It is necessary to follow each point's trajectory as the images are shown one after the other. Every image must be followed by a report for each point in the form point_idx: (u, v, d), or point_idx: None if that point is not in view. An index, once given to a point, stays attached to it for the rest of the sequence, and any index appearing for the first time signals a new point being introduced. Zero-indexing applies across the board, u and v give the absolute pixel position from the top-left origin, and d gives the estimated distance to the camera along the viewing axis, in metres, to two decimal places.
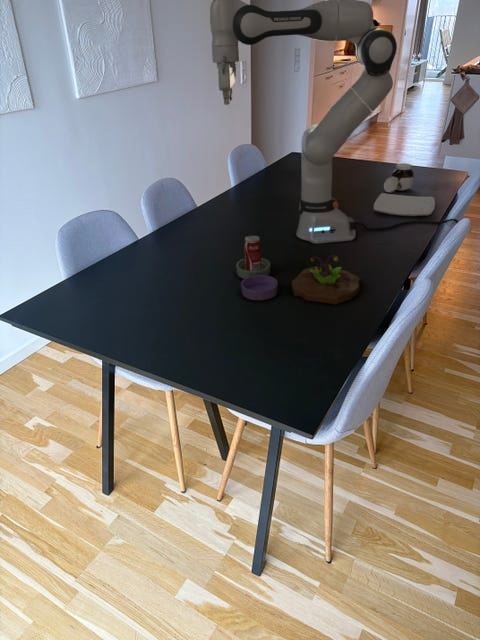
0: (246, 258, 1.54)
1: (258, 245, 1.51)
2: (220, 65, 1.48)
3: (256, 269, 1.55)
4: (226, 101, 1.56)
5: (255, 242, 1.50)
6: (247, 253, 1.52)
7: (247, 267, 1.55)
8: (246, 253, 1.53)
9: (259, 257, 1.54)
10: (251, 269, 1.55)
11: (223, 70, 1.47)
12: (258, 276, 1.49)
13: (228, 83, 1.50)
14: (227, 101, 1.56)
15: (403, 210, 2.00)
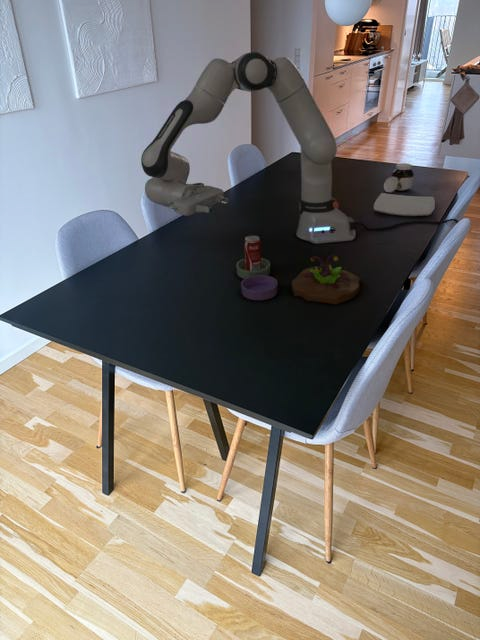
0: (246, 258, 1.54)
1: (258, 245, 1.51)
2: (173, 208, 1.54)
3: (256, 269, 1.55)
4: (206, 209, 1.50)
5: (255, 242, 1.50)
6: (247, 253, 1.52)
7: (247, 267, 1.55)
8: (246, 253, 1.53)
9: (259, 257, 1.54)
10: (251, 269, 1.55)
11: (173, 208, 1.51)
12: (258, 276, 1.49)
13: (182, 205, 1.49)
14: (206, 208, 1.50)
15: (403, 210, 2.00)
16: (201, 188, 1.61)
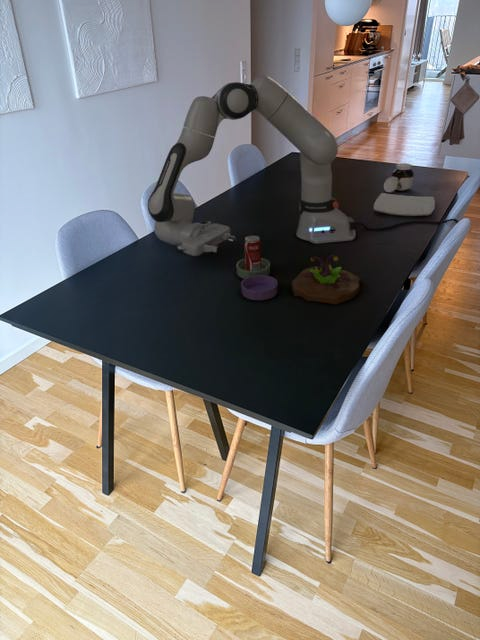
0: (246, 258, 1.54)
1: (258, 245, 1.51)
2: None
3: (256, 269, 1.55)
4: (213, 249, 1.56)
5: (255, 242, 1.50)
6: (247, 253, 1.52)
7: (247, 267, 1.55)
8: (246, 253, 1.53)
9: (259, 257, 1.54)
10: (251, 269, 1.55)
11: (182, 248, 1.57)
12: (258, 276, 1.49)
13: (191, 247, 1.55)
14: (213, 248, 1.56)
15: (403, 210, 2.00)
16: (208, 226, 1.67)
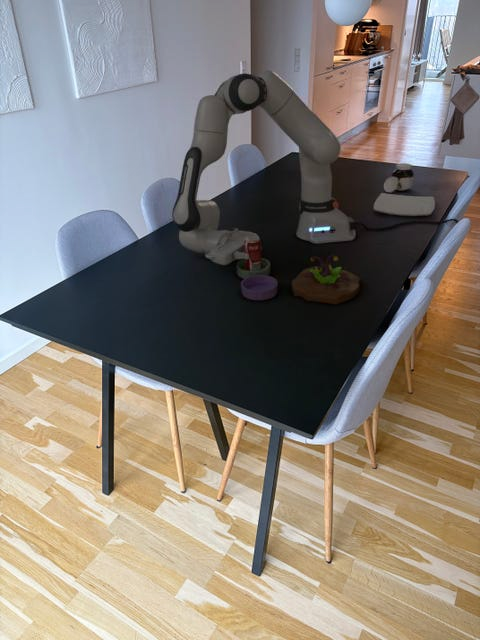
0: None
1: (258, 245, 1.51)
2: None
3: (256, 269, 1.55)
4: (245, 256, 1.52)
5: (255, 242, 1.50)
6: None
7: (247, 267, 1.55)
8: None
9: (259, 257, 1.54)
10: (251, 269, 1.55)
11: (210, 257, 1.52)
12: (258, 276, 1.49)
13: (219, 255, 1.50)
14: (245, 255, 1.51)
15: (403, 210, 2.00)
16: (235, 234, 1.61)
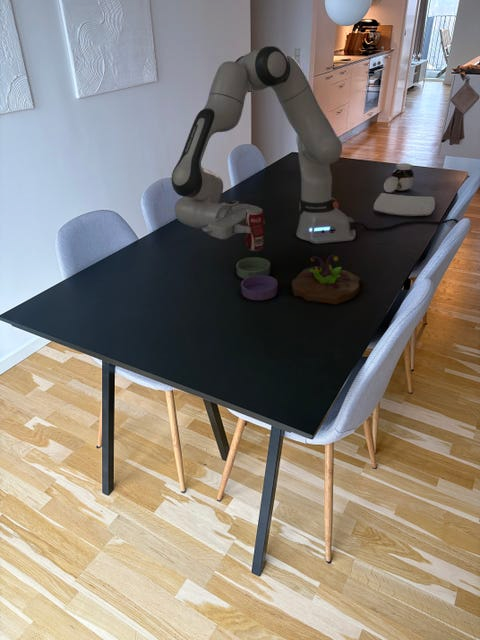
0: (247, 233, 1.40)
1: (261, 217, 1.37)
2: None
3: (258, 245, 1.40)
4: (247, 230, 1.37)
5: (258, 214, 1.36)
6: None
7: (249, 242, 1.41)
8: None
9: (262, 231, 1.39)
10: (253, 245, 1.40)
11: (208, 231, 1.37)
12: (258, 276, 1.49)
13: (218, 228, 1.35)
14: (247, 229, 1.37)
15: (403, 210, 2.00)
16: (236, 207, 1.47)
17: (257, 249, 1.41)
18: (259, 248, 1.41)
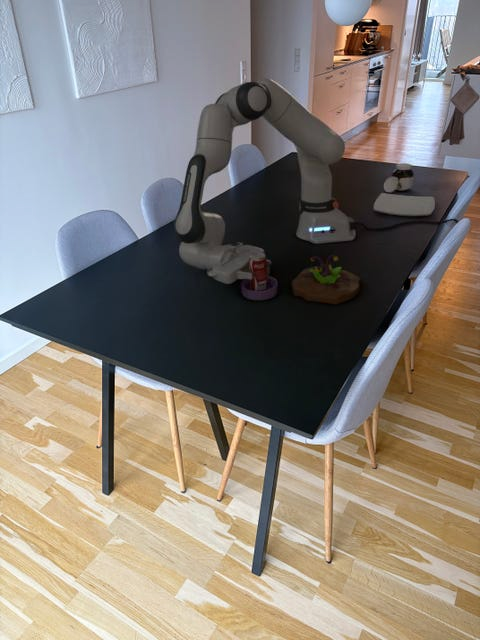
0: None
1: (264, 263, 1.40)
2: None
3: (262, 289, 1.43)
4: (248, 276, 1.39)
5: (261, 260, 1.39)
6: (252, 271, 1.41)
7: (252, 286, 1.44)
8: None
9: (265, 276, 1.42)
10: (256, 289, 1.43)
11: (213, 275, 1.40)
12: None
13: (223, 274, 1.38)
14: (248, 275, 1.39)
15: (403, 210, 2.00)
16: (240, 249, 1.50)
17: None
18: None
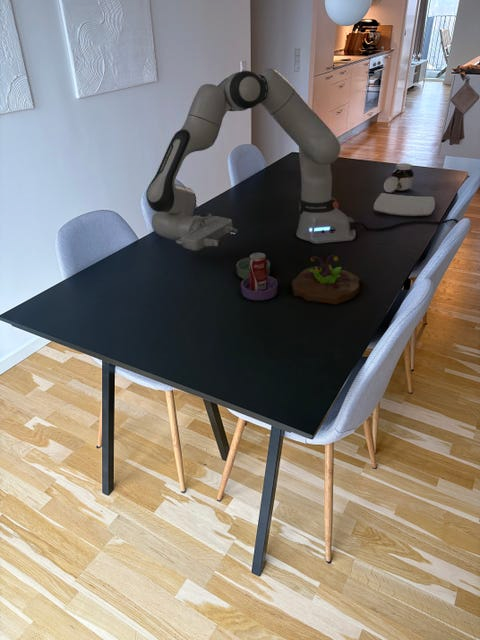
0: (250, 277, 1.42)
1: (264, 263, 1.40)
2: None
3: (262, 289, 1.43)
4: (214, 243, 1.46)
5: (261, 260, 1.39)
6: (252, 271, 1.41)
7: (252, 286, 1.44)
8: (251, 272, 1.41)
9: (265, 276, 1.42)
10: (256, 289, 1.43)
11: (181, 243, 1.47)
12: None
13: (190, 241, 1.45)
14: (214, 242, 1.46)
15: (403, 210, 2.00)
16: (209, 219, 1.57)
17: None
18: None
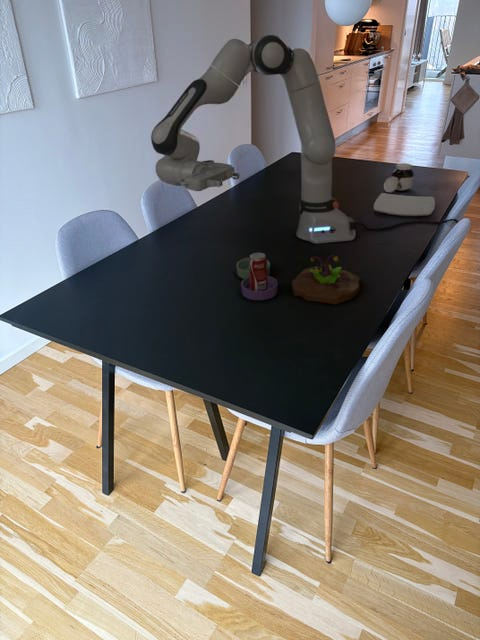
0: (250, 277, 1.42)
1: (264, 263, 1.40)
2: (184, 185, 1.53)
3: (262, 289, 1.43)
4: (217, 184, 1.50)
5: (261, 260, 1.39)
6: (252, 271, 1.41)
7: (252, 286, 1.44)
8: (251, 272, 1.41)
9: (265, 276, 1.42)
10: (256, 289, 1.43)
11: (184, 184, 1.51)
12: None
13: (193, 181, 1.49)
14: (217, 183, 1.50)
15: (403, 210, 2.00)
16: (211, 165, 1.61)
17: None
18: None
